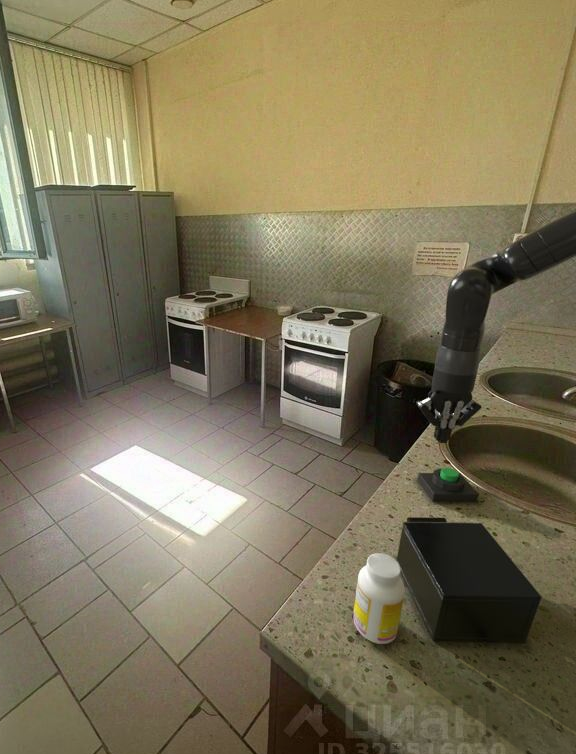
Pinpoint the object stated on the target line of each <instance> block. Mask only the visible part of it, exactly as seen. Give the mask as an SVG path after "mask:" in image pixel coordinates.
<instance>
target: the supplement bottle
mask: <svg viewBox="0 0 576 754" xmlns="http://www.w3.org/2000/svg"><path fill="white" fill-rule="evenodd" d="M356 583H357V584H356V592H355V598H354V599H355V600H354V608H353V623H354V626H355V627H356V629H357V631H358V632H359V634H360V635H361V636H362V637H364V638H365V639H366V640H368V641H369V642H372V643H375V644H378V645H379V644H380V645H386V644H389V643H391V642H393V641H394V640H395V639H396V637H397V636H398V632H399V626H400V620H401V615H402V609H403V605H404V598H405V591H406V588H405V584H404V583H405V582H404V580H403V578H402V576H401V569H400V566H399V564H398V562H397V559H395V558H393V557H392V556H390V555H388V554H386V553H381V552H375V553H372V554H370V555H369V556H368V558H367V561H366V564H365V565H364V566H363V567H362V568H361V569H360V571H359V572H358V577H357V582H356Z"/></svg>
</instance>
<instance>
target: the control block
mask: <svg viewBox="0 0 576 754" xmlns="http://www.w3.org/2000/svg"><path fill="white" fill-rule="evenodd" d="M441 469H442V468H437V469H435V470H433V472H418V475H417V482H418V483H419V485H420V486H421V487H422V489H423V490H424V492H425V493H426V494H427V496H428V498H429V499H430V500H431V502H433V503H434V502H435V503H436V502H437V503H442V502H443V503H447V502H448V503H477V502H478V500H479V497H480V493H479V492H478V491H477V490H476V489H475V488H474V487H473V485H471V483H470V482H469V481H468V480H467V479H466V478H465V476H463V475H462V474H461V472H458V473H459V476H458V480H457V482H449V481H445V480H443V479H442V478H440V473H441Z"/></svg>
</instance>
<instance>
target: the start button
mask: <svg viewBox="0 0 576 754" xmlns="http://www.w3.org/2000/svg"><path fill="white" fill-rule="evenodd" d="M440 469H441V473H440V478H442V479H443V480H445V481H449V482H457V480H458V476H459V473H460V472H458V471H457V470H456V469H454V468H452V467H442V468H440Z"/></svg>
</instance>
